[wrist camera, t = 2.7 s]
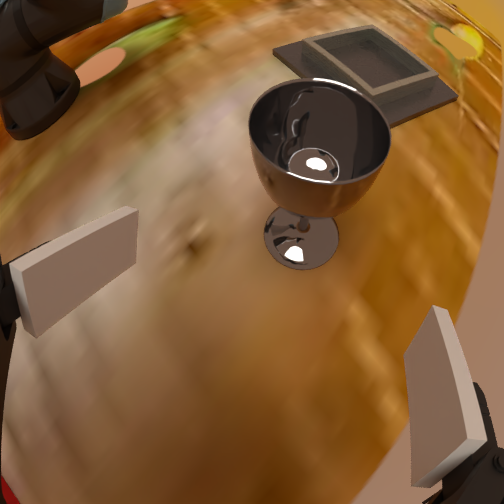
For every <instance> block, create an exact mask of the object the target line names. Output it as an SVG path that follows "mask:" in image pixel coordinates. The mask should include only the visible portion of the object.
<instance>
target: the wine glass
mask: <svg viewBox="0 0 504 504" xmlns="http://www.w3.org/2000/svg"><path fill="white" fill-rule="evenodd" d="M249 136H250V147H251V152H252V158H253V162H254V165H255V168H256V171H257V173H258V176H259V179H260V181H261V183H262V185H263V186H264V188H265V190H266V192H267V194H268V195H269V196H270V197H271V199H272V200H273V201H274V202H275V203H276V204H277V205H278V206H279V207H278V208H277V209H275V210H274V211H273V212H272V213H271V215H270V216H269V218H268V219H267V221H266V224H265V228H264V240H265V244H266V247H267V249H268V251H269V252H270V254H271V255H272V256H273V257H274V258H275V259H276V260H277V261H278V262H279V263H281V264H283V265H284V266H287V267H289V268H292V269H296V270H309V269H313V268H317V267H319V266H321V265H323V264H324V263H326V262H327V261H328V260H329V259H330V258H331V257H332V256H333V254H334V253H335V251H336V249H337V246H338V242H339V232H338V227H337V224H336V222H335V220H334V219H333V217H335V216H337V215H340V214H342V213H344V212H345V211H347V210H348V209H350V208H351V207H352V206H354V205H355V204H356V203H357V202H358V201H359V200H360V199H361V198H362V197H363V196H364V195H365V194H366V192H367V191H368V190H369V189H370V188H371V186H372V185H373V183H374V181H375V180H376V178H377V176H378V174H379V173H380V171H381V169H382V167H383V165H384V163H385V161H386V158H387V156H388V153H389V150H390V146H391V131H390V126H389V124H388V122H387V119H386V117H385V116H384V114H383V113H382V111H381V110H380V108H379V107H378V106H377V105H376V104H375V103H374V102H373V101H372V100H371V99H369V98H368V97H367V96H366V95H364V94H363V93H361V92H359V91H358V90H356V89H354V88H352V87H350V86H348V85H345V84H342V83H339V82H336V81H331V80H327V79H318V78H302V79H295V80H290V81H286V82H283V83H280V84H278V85H276V86H273V87H272V88H270V89H269V90H267V91H265V92H264V93H263V94H262V95H261V96H260V97H259V98H258V99H257V101H256V102H255V103H254V105H253V107H252V109H251V112H250V116H249Z"/></svg>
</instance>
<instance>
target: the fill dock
mask: <svg viewBox="0 0 504 504" xmlns="http://www.w3.org/2000/svg"><path fill="white" fill-rule="evenodd" d="M273 55H274V56H276V57H277V58H278V59H279V60H280V61H282V62H283V63H284V64H285V65H286V66H288V67H289V68H290V69H291V70H292V71H294V72H295V73H296V74H297V75H298V76H299V77H301V78H318V79H327V80H331V81H336V82H339V83H342V84H345V85H348V86H350V87H352V88H354V89H356V90H358V91H359V92H361V93H363V94H364V95H366V96H367V97H368V98H369V99H371V100H372V101H373V102H374V103H375V104H376V105H377V106H378V107H379V108H380V110H381V111H382V113H383V114H384V116H385V117H386V119H387V122H388V124H389V126H390V129H391V128H393V127H395V126H397V125H399V124H402V123H404V122H406V121H409V120H411V119H413V118H415V117H418V116H420V115H422V114H425V113H427V112H429V111H432V110H434V109H437V108H439V107H441V106H444V105H446V104H449V103H451V102H453V101H456V100H457V98H458V95H457V94H456V93H455V92H454V91H453V90H452V89H451V88H450V87H449V86H447V85H446V84H445V83H444V82H443V81H442V80H441V79H440V78H438V76H439V74H438V73H437V72H436V71H435V70H433V69H432V68H431V67H430V66H429V65H427V64H426V63H425V62H424V61H422V60H421V59H420V58H419V57H417V56H416V55H415V54H414V53H412V52H411V51H410V50H408V49H407V48H406V47H404V46H403V45H401V44H400V43H399V42H397V41H396V40H395V39H393V38H392V37H390V36H389V35H387V34H386V33H384V32H383V31H381V30H380V29H378V28H377V27H375V26H374V25H367V26H361V27H356V28H351V29H345V30H340V31H336V32H331V33H327V34H322V35H318V36H314V37H310V38H306V39H302V41H299V42H295V43H292V44H288V45H285V46H281V47H278V48H275V49H273Z"/></svg>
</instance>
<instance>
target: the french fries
mask: <svg viewBox="0 0 504 504" xmlns="http://www.w3.org/2000/svg"><path fill="white" fill-rule="evenodd" d="M1 484H2V493H3V496H4V498H5V500H6V502H7V504H20V503H19V501H18V500H17V498H16V497H15V495H14V494H13V492H12V491H11V489H10V488H9V486H8V485H7V483H6V482H5V480H4V479H3V477H2V476H1Z"/></svg>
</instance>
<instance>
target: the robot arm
mask: <svg viewBox="0 0 504 504" xmlns="http://www.w3.org/2000/svg"><path fill="white" fill-rule="evenodd" d="M127 4H128V0H0V114H1V117H2V120H3V123H4V126H5V128H6V130H7V131H8V133H9V134H10V135H11V136H12V137H13V138H14V139H17V140H23V139H27V138H30V137H32V136H34V135H36V134H38V133H40V132H41V131H43V130H45V129H46V128H47V127H49V126H50V125H51V124H52V123H54V122H55V121H56V120H57V119H58V118H59V117H60V116H61V115H62V114H63V113H64V112H65V111H66V110H67V109H68V108H69V106H70V105H71V104H72V103H73V101H74V100H75V98H76V96H77V94H78V92H79V89H80V80H79V78H78V76H77V75H76V73H75V71H74V70H73V69H72V68H70V67H69V66H68V65H67V64H65V63H64V62H63V61H61V60H60V59H59V58H57V57H56V56H55V55H54V54H53V53H52V52H51V50H50V49H49V46H51V45H53V44H55V43H57V42H59V41H61V40H63V39H65V38H67V37H69V36H71V35H73V34H76V33H78V32H80V31H82V30H84V29H87V28H89V27H91V26H94V25H96V24H99V23H100V24H101V23H102V22H104V21H105V20H107V19H109V18H111V17H113V16H116V15H118V14H120V13H122V12H123V11H124V10H125V8H126V7H127ZM138 213H139V210H138V209H135V208H132V207H129V206H123V207H121V208H119V209H117V210H114V211H112V212H110V213H108V214H106V215H103V216H101V217H99V218H97V219H95V220H93V221H91V222H88V223H86V224H84V225H82V226H80V227H78V228H76V229H74V230H72V231H70V232H68V233H66V234H64V235H62V236H60V237H58V238H56V239H54V240H52V241H48V242H45V243H43V244H41V245H39V246H38V247H37V248H34V249H32V250H30V251H29V253H28V252H26V253H24V254H23V255H21V256H19V257H17V258H15V259H13V260H12V261H10V262H8V263H6V264H4V265H3V266H2V261H1V256H0V504H7V502H6V500H5V498H4V496H3V493H2V484H1V440H2V422H3V410H4V400H5V392H6V384H7V377H8V370H9V364H10V358H11V353H12V348H13V343H14V338H15V333H16V321H15V320H16V319H18V318H19V317H20V316H21V319H22V323H23V326H24V329H25V330H26V331H27V332H29V333H30V334H31V335H33V336H34V337H35V338H38V337H39V336H40V335H41V334H43V333H44V332H45V331H46V330H48V329H49V328H50V327H51V326H53V325H54V324H55V323H57V322H58V321H59V320H60V319H62V318H63V317H64V316H66V315H67V314H68V313H69V312H71V311H72V310H73V309H75V308H76V307H77V306H78V305H80V304H81V303H82V302H84V301H85V300H86V299H88V298H89V297H90V296H92V295H93V294H94V293H96V292H97V291H98V290H100V289H101V288H102V287H104V286H105V285H106V284H108V283H109V282H110V281H112V280H113V279H115V278H116V277H117V276H119V275H120V274H121V273H123V272H124V271H126V270H127V269H128V268H130V267H131V266H132V265H134V264H135V263H136V248H137V228H138ZM404 362H405V371H406V380H407V391H408V403H409V417H410V434H411V435H410V436H411V486H413V487H424V488H431V487H432V486H434V485H435V484H436V483H437V482H439V481H440V480H442V489H441V490H439V491H438V492H437V493H435V494H434V495H432V496H431V497H429V498H428V499H426V500H425V501H424V502H422V503H423V504H426V503H427V502H428V503H427V504H504V449H503V448H500V447H498V446H497V441H496V437H495V433H494V428H493V425H492V421H491V417H490V416H489V415H490V413H489V409H488V407H487V402H486V399H485V395H484V393H483V391H482V390H481V388H480V387H479V385H478V384H477V383H475V382H472V379H471V376H470V372H469V369H468V366H467V363H466V360H465V357H464V354H463V351H462V348H461V345H460V342H459V340H458V337H457V334H456V331H455V329H454V326H453V323H452V321H451V318H450V316H449V313H448V311H447V310H446V309H443V308H440V307H437V306H434V305H432V307H431V309H430V310H429V312H428V314H427V316H426V318H425V320H424V321H423V323H422V325H421V327H420V328H419V330H418V332H417V334H416V335H415V337H414V339H413V340H412V342H411V344H410V345H409V347H408V349H407V350H406V352H405V354H404Z"/></svg>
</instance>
